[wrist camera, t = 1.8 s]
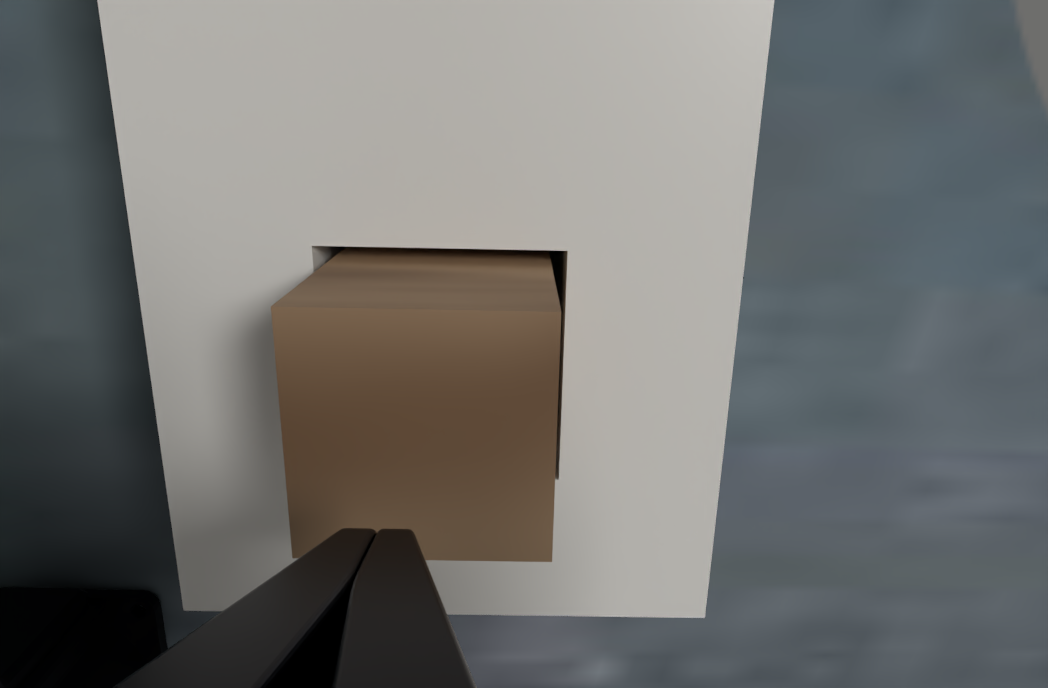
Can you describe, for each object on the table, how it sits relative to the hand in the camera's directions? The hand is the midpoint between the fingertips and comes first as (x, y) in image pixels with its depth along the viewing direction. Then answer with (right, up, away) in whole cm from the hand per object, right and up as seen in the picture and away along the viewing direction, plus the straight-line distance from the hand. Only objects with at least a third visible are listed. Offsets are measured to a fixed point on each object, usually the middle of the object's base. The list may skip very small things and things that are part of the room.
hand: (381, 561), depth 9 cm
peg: (0, +3, +8) cm, 9 cm away
